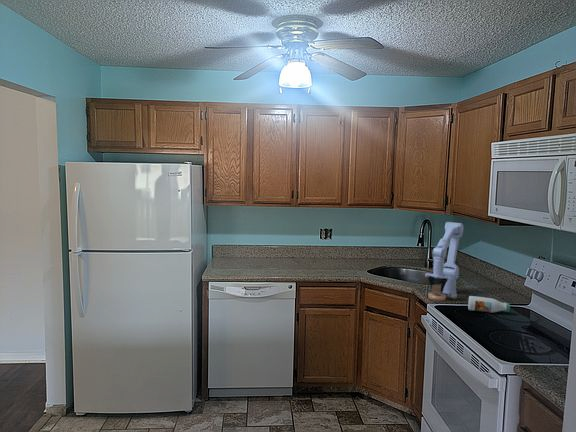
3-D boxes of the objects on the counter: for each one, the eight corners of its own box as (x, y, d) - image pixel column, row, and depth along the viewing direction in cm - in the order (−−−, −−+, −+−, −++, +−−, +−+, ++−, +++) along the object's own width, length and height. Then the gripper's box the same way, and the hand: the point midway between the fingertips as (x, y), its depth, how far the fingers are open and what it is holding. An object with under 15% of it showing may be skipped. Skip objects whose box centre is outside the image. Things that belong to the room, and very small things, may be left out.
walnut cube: (434, 291, 254) (434, 283, 254) (442, 292, 251) (443, 284, 251) (431, 293, 250) (432, 285, 250) (440, 294, 247) (440, 286, 247)
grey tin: (449, 296, 256) (449, 291, 256) (457, 298, 254) (457, 293, 253) (446, 298, 252) (447, 293, 252) (455, 300, 250) (455, 295, 249)
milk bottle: (469, 294, 230) (510, 298, 223) (468, 297, 236) (507, 301, 230) (469, 308, 227) (510, 313, 221) (467, 311, 234) (507, 315, 228)
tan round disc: (430, 295, 258) (431, 291, 258) (447, 298, 253) (448, 294, 252) (425, 299, 250) (426, 295, 250) (443, 302, 244) (443, 298, 244)
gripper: (424, 267, 250) (423, 289, 252) (449, 270, 242) (448, 293, 243) (427, 265, 256) (426, 287, 257) (452, 268, 248) (451, 291, 249)
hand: (437, 290), depth 251 cm, fingers closed on walnut cube, 5 cm apart
